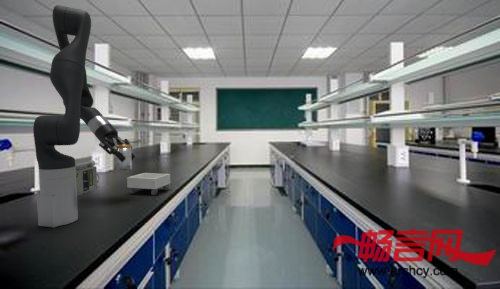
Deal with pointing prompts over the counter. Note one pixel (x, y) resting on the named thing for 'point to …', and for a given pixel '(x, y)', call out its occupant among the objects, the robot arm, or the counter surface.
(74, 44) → the robot arm
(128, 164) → the canister
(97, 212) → the counter surface
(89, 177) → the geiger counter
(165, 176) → the parts cart
